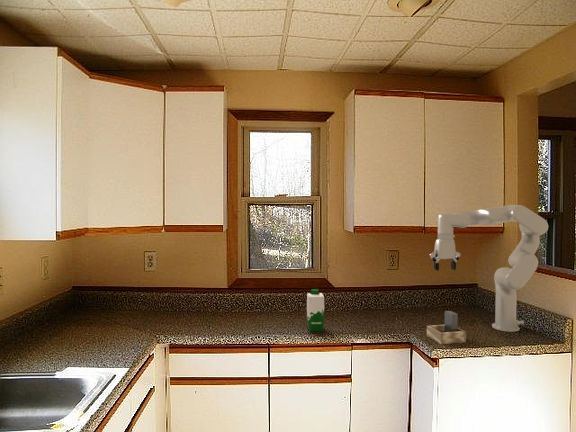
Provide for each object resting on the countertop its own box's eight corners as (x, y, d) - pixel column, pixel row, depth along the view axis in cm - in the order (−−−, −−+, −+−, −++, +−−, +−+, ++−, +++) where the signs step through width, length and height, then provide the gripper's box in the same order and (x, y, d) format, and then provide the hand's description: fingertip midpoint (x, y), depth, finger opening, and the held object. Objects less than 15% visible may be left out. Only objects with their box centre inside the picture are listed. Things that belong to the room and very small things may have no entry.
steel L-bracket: (449, 335, 195) (450, 310, 194) (457, 339, 189) (457, 314, 188) (435, 336, 193) (435, 311, 193) (442, 340, 187) (442, 315, 187)
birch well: (450, 334, 198) (450, 324, 198) (465, 342, 186) (466, 331, 186) (426, 335, 195) (426, 325, 195) (440, 344, 184) (440, 333, 184)
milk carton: (322, 326, 211) (322, 288, 211) (325, 331, 202) (325, 292, 202) (306, 326, 210) (306, 289, 210) (308, 332, 201) (308, 292, 201)
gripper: (455, 236, 213) (455, 268, 214) (426, 236, 210) (426, 269, 210) (464, 237, 206) (464, 270, 206) (434, 238, 202) (434, 271, 203)
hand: (445, 269), depth 208 cm, fingers open, 9 cm apart
